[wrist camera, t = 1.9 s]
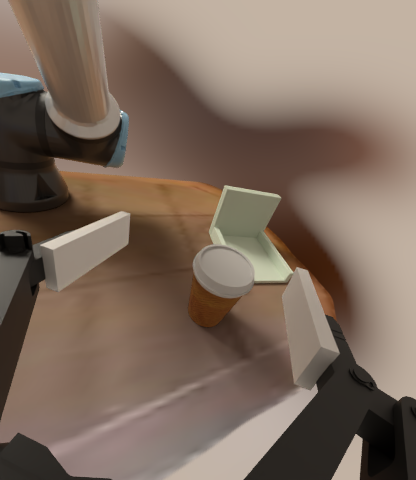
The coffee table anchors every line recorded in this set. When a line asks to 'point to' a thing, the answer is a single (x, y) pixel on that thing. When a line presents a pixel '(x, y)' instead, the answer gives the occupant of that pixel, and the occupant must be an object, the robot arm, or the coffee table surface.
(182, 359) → the coffee table surface
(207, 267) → the disposable coffee cup
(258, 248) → the pale green l-shaped stand
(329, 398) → the robot arm
